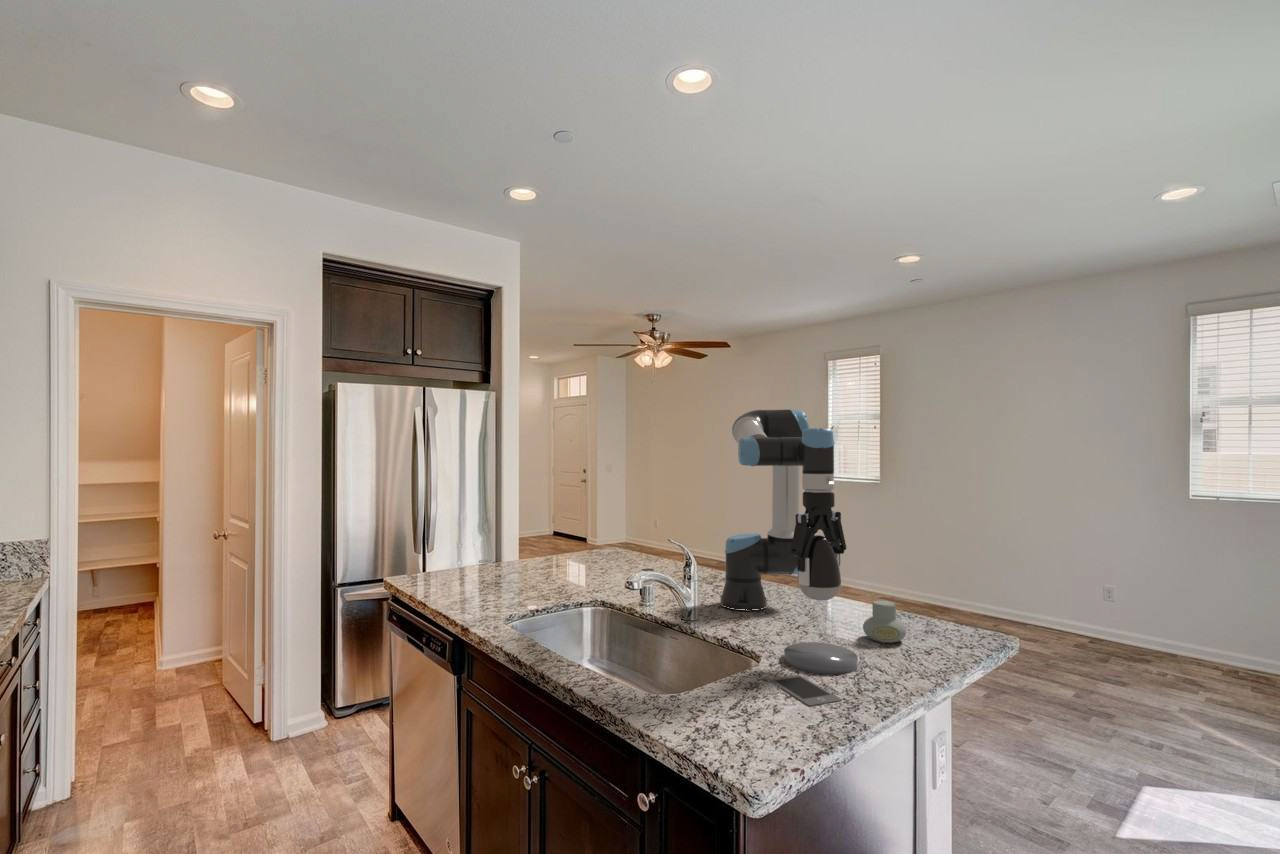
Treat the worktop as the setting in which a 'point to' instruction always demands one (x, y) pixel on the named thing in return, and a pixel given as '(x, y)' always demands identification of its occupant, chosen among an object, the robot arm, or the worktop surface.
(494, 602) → the worktop surface
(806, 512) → the robot arm
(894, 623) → the air freshener
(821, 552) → the pump dispenser
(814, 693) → the smartphone
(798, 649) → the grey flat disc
